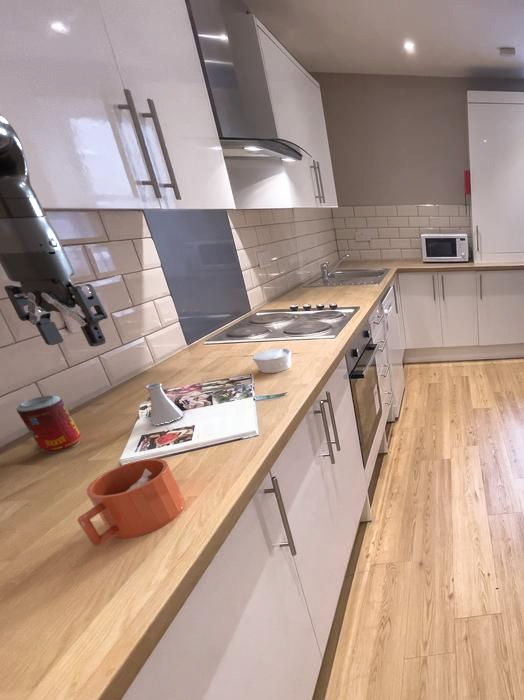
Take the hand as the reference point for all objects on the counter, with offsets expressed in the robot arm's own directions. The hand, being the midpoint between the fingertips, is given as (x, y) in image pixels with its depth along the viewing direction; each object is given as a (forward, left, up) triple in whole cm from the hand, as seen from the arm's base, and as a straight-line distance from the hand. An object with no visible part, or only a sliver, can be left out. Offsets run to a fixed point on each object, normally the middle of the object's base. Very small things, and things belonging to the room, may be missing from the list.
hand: (77, 344), depth 72 cm
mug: (+10, -11, -30) cm, 34 cm away
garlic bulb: (+10, -9, -30) cm, 33 cm away
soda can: (-32, +10, -30) cm, 45 cm away
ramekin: (-11, +59, -30) cm, 67 cm away
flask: (-18, +24, -30) cm, 43 cm away
